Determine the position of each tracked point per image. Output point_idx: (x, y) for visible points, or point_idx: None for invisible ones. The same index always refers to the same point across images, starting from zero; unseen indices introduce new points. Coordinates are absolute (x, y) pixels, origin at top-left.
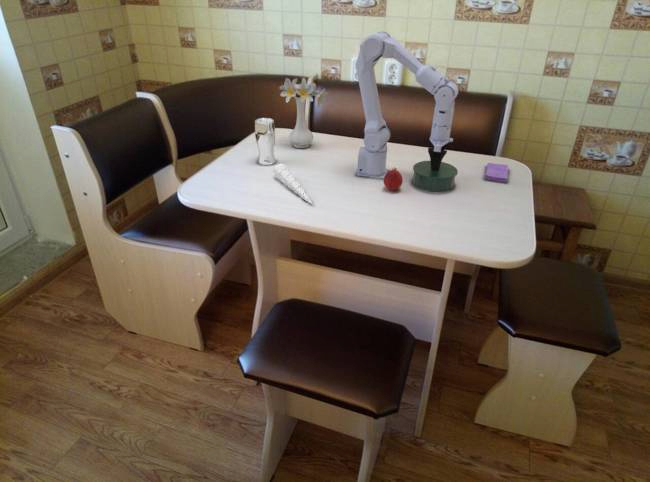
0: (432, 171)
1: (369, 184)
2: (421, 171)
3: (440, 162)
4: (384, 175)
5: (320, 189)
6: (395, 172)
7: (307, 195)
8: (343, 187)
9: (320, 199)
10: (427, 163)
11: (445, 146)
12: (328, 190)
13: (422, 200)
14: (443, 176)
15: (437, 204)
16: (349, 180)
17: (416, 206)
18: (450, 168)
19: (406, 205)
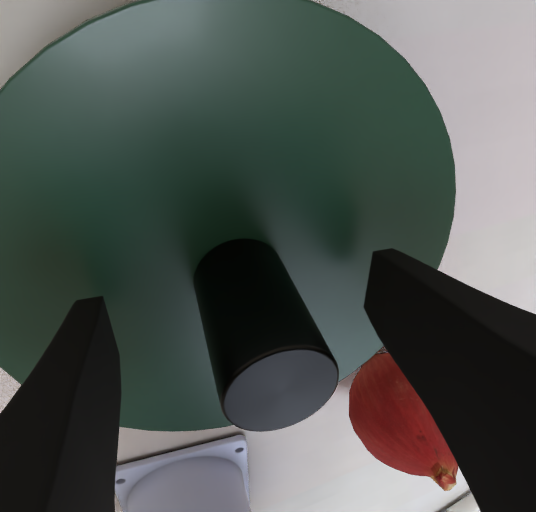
0: (317, 280)
1: (318, 443)
2: (339, 349)
3: (496, 301)
4: (213, 449)
5: (394, 508)
6: None
7: (476, 507)
8: (367, 481)
9: (462, 476)
10: (121, 371)
11: (45, 506)
12: (398, 493)
13: (464, 200)
14: (423, 159)
15: (517, 100)
16: (300, 498)
17: (531, 211)
18: (144, 116)
19: (517, 257)
